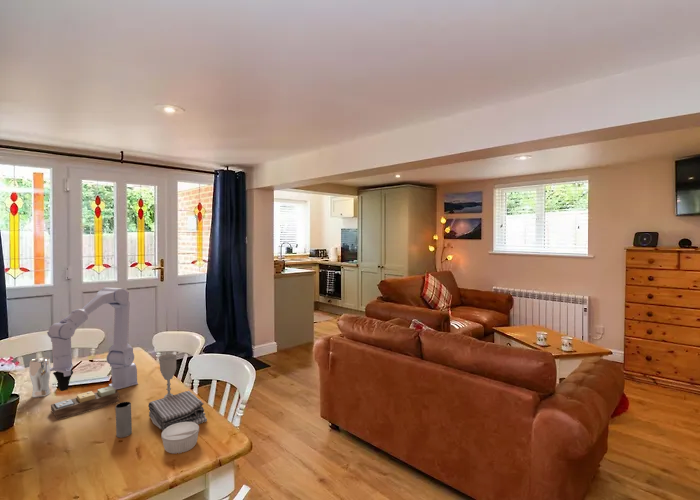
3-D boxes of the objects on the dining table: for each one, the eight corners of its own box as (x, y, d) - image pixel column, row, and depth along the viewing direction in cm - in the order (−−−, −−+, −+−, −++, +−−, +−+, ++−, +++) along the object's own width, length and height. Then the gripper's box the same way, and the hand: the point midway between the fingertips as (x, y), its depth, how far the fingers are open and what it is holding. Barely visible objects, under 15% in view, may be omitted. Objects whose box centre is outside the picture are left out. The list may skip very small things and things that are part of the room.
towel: (188, 406, 153) (188, 386, 152) (208, 423, 140) (207, 401, 139) (146, 418, 143) (146, 398, 142) (163, 438, 129) (162, 415, 129)
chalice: (155, 402, 155) (154, 358, 154) (169, 395, 161) (168, 353, 160) (169, 405, 152) (167, 360, 151) (182, 398, 159) (181, 355, 158)
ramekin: (175, 460, 117) (175, 443, 116) (154, 449, 123) (153, 433, 122) (206, 443, 126) (206, 427, 126) (185, 433, 132) (185, 418, 132)
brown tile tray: (112, 393, 164) (111, 386, 163) (120, 401, 156) (120, 394, 156) (50, 410, 148) (49, 402, 148) (56, 420, 141) (56, 412, 141)
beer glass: (56, 391, 166) (54, 356, 165) (41, 398, 159) (40, 362, 158) (41, 390, 166) (39, 356, 165) (26, 397, 159) (24, 361, 159)
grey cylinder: (115, 439, 128) (114, 408, 128) (116, 432, 132) (115, 403, 132) (131, 435, 130) (130, 405, 130) (132, 429, 134) (131, 400, 134)
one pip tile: (111, 390, 161) (111, 385, 161) (115, 394, 157) (115, 388, 157) (97, 394, 157) (97, 388, 157) (101, 397, 154) (101, 392, 153)
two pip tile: (91, 395, 156) (91, 390, 155) (95, 399, 152) (95, 394, 152) (76, 399, 152) (76, 394, 152) (80, 403, 148) (79, 398, 148)
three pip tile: (70, 404, 150) (70, 398, 150) (74, 408, 147) (73, 402, 147) (54, 408, 147) (54, 402, 147) (57, 412, 143) (57, 407, 143)
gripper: (45, 352, 148) (46, 387, 149) (53, 361, 138) (54, 399, 139) (67, 348, 153) (69, 382, 154) (76, 356, 143) (78, 392, 144)
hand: (63, 389), depth 147 cm, fingers closed
